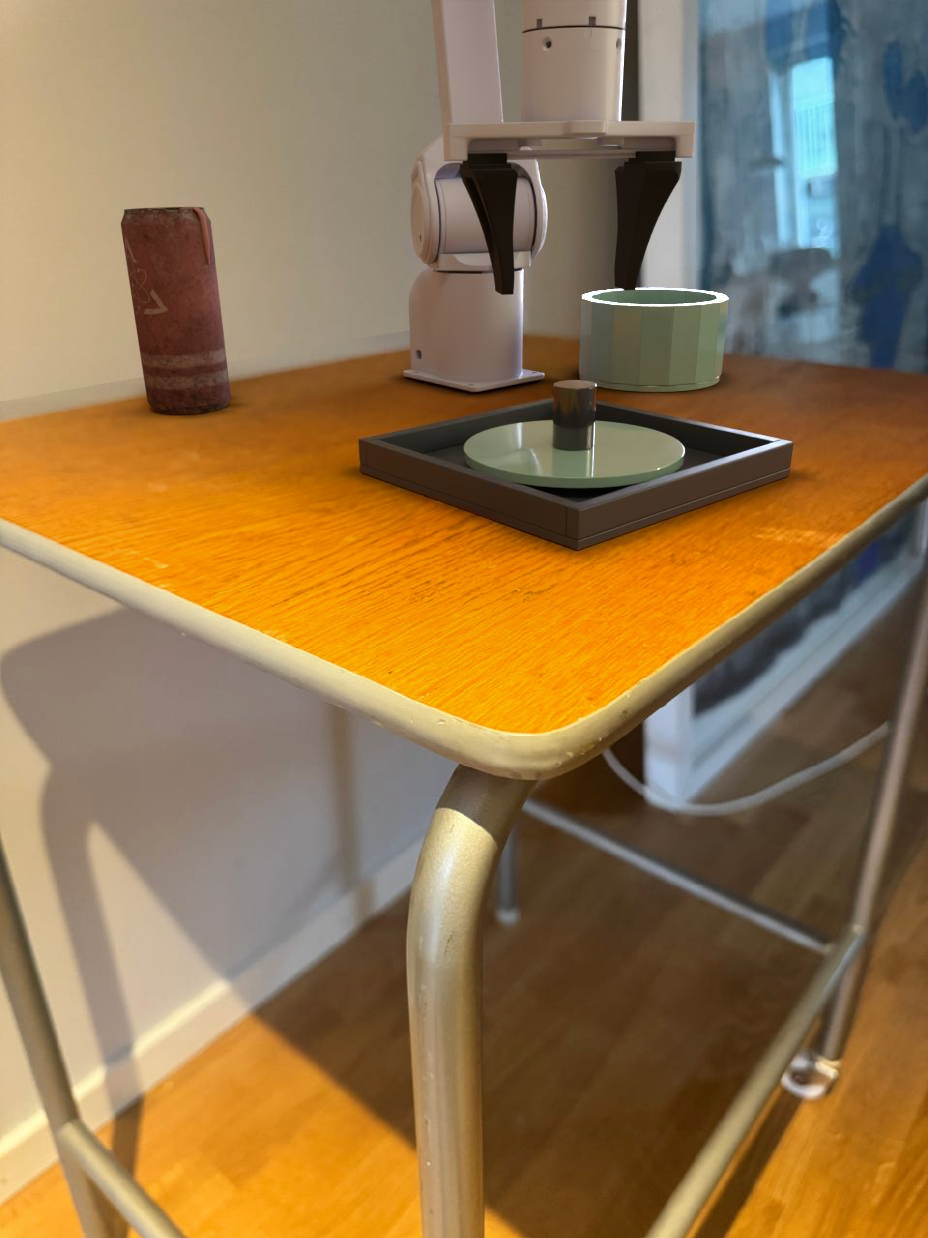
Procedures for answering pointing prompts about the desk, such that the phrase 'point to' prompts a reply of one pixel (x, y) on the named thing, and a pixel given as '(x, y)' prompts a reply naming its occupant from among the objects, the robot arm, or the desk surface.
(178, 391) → the can
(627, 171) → the robot arm
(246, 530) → the desk surface
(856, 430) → the desk surface
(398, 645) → the desk surface
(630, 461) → the lid
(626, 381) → the pot
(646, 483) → the tray
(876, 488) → the desk surface
